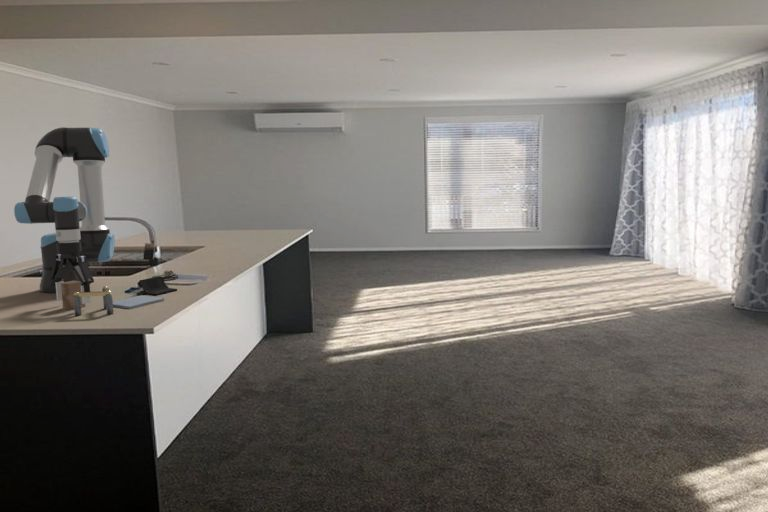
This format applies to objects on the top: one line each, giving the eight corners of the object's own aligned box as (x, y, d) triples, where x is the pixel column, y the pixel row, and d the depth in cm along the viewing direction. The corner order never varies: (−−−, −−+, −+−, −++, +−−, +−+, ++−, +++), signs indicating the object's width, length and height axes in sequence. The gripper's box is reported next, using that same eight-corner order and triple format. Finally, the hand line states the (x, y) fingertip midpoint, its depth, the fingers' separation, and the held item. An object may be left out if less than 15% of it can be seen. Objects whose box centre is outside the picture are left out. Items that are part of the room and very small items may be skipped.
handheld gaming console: (160, 292, 227) (148, 270, 228) (148, 302, 228) (135, 281, 230) (179, 290, 238) (167, 270, 239) (167, 300, 239) (155, 280, 241)
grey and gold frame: (73, 315, 197) (71, 292, 196) (107, 307, 208) (105, 285, 207) (93, 318, 192) (91, 294, 191) (127, 310, 204) (125, 287, 202)
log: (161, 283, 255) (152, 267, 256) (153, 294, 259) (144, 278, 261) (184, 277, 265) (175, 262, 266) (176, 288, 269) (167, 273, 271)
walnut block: (63, 308, 208) (60, 282, 206) (76, 305, 212) (74, 280, 211) (72, 309, 205) (70, 284, 204) (85, 306, 210) (83, 281, 209)
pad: (106, 305, 211) (106, 303, 211) (141, 297, 224) (141, 295, 224) (130, 308, 206) (129, 306, 206) (164, 300, 219) (163, 298, 219)
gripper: (35, 241, 208) (41, 300, 211) (82, 244, 196) (87, 306, 199) (56, 239, 214) (60, 296, 217) (102, 241, 203) (106, 302, 206)
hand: (73, 301), depth 208 cm, fingers open, 13 cm apart
